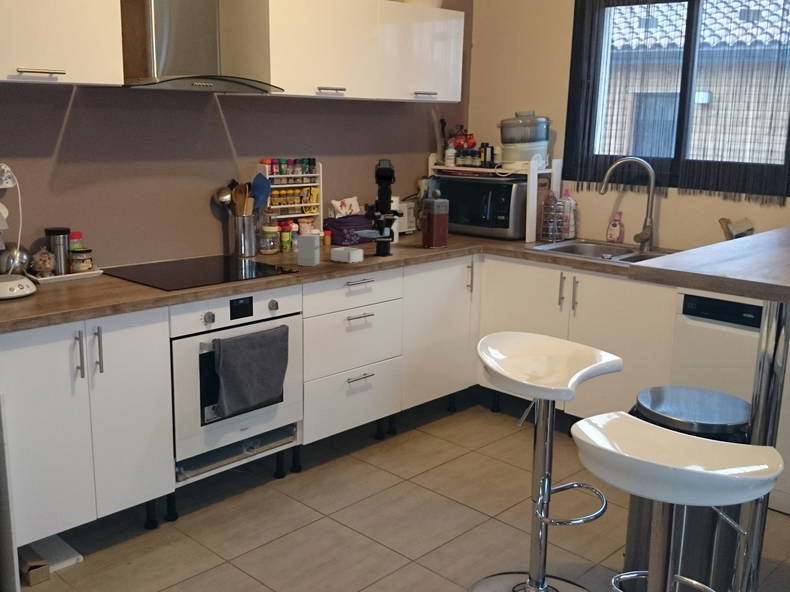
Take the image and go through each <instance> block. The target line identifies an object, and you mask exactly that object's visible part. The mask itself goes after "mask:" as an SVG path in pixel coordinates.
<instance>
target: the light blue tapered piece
mask: <svg viewBox="0 0 790 592" xmlns="http://www.w3.org/2000/svg"><path fill="white" fill-rule="evenodd" d="M353 234H354V235H355V234H356V235H357V236H358V237H362V238H363V237H364V238H371V239H374V238H376V237H384V236H389V234H390V228H387V227H385V228H384V232H383V236H380V234H379V231H375V230H374V229H372V230H371V229H365V230H357V231H353Z"/></svg>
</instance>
